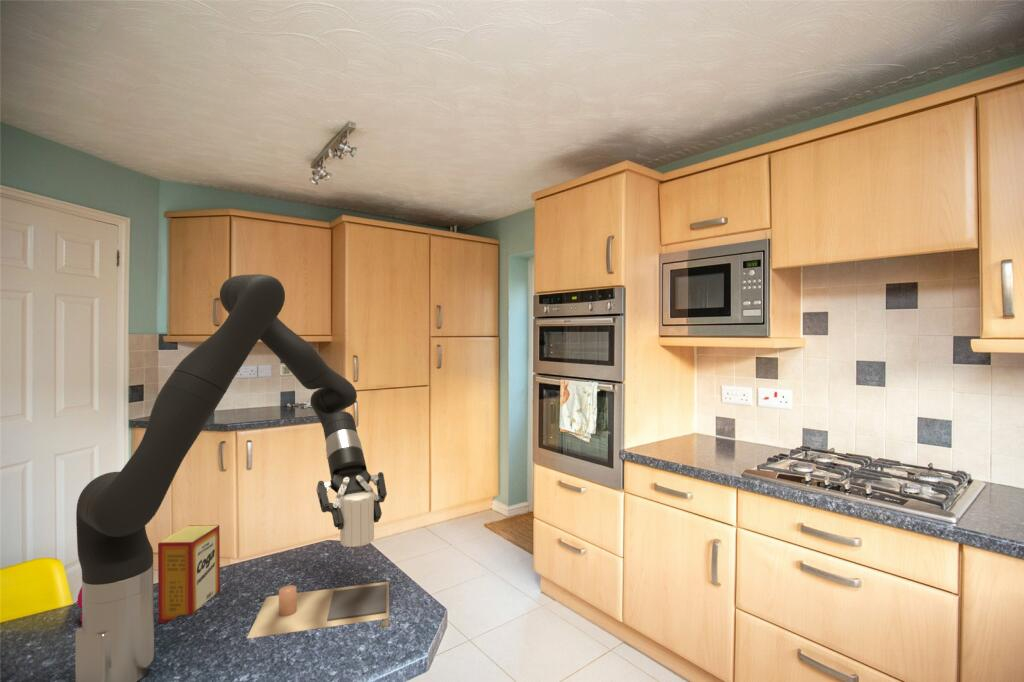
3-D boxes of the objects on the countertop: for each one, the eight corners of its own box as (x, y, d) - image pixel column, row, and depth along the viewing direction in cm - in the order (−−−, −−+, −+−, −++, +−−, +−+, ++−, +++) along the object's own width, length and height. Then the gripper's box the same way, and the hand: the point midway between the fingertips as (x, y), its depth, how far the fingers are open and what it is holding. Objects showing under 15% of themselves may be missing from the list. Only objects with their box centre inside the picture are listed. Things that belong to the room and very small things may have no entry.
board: (389, 588, 109) (388, 579, 109) (388, 625, 94) (388, 616, 94) (266, 603, 103) (266, 594, 103) (246, 646, 88) (246, 636, 88)
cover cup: (362, 548, 96) (362, 502, 96) (333, 544, 98) (333, 499, 98) (379, 535, 102) (379, 492, 102) (352, 532, 104) (352, 490, 104)
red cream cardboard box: (189, 597, 106) (189, 523, 106) (219, 596, 106) (219, 523, 106) (158, 622, 96) (158, 541, 96) (191, 621, 96) (191, 540, 96)
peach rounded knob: (288, 617, 95) (288, 594, 95) (275, 615, 96) (275, 592, 96) (300, 608, 98) (299, 586, 98) (286, 606, 99) (286, 584, 99)
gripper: (313, 449, 103) (324, 522, 93) (380, 441, 110) (398, 508, 100) (308, 468, 107) (319, 540, 97) (374, 460, 115) (390, 525, 105)
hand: (359, 523), depth 99 cm, fingers closed on cover cup, 6 cm apart
